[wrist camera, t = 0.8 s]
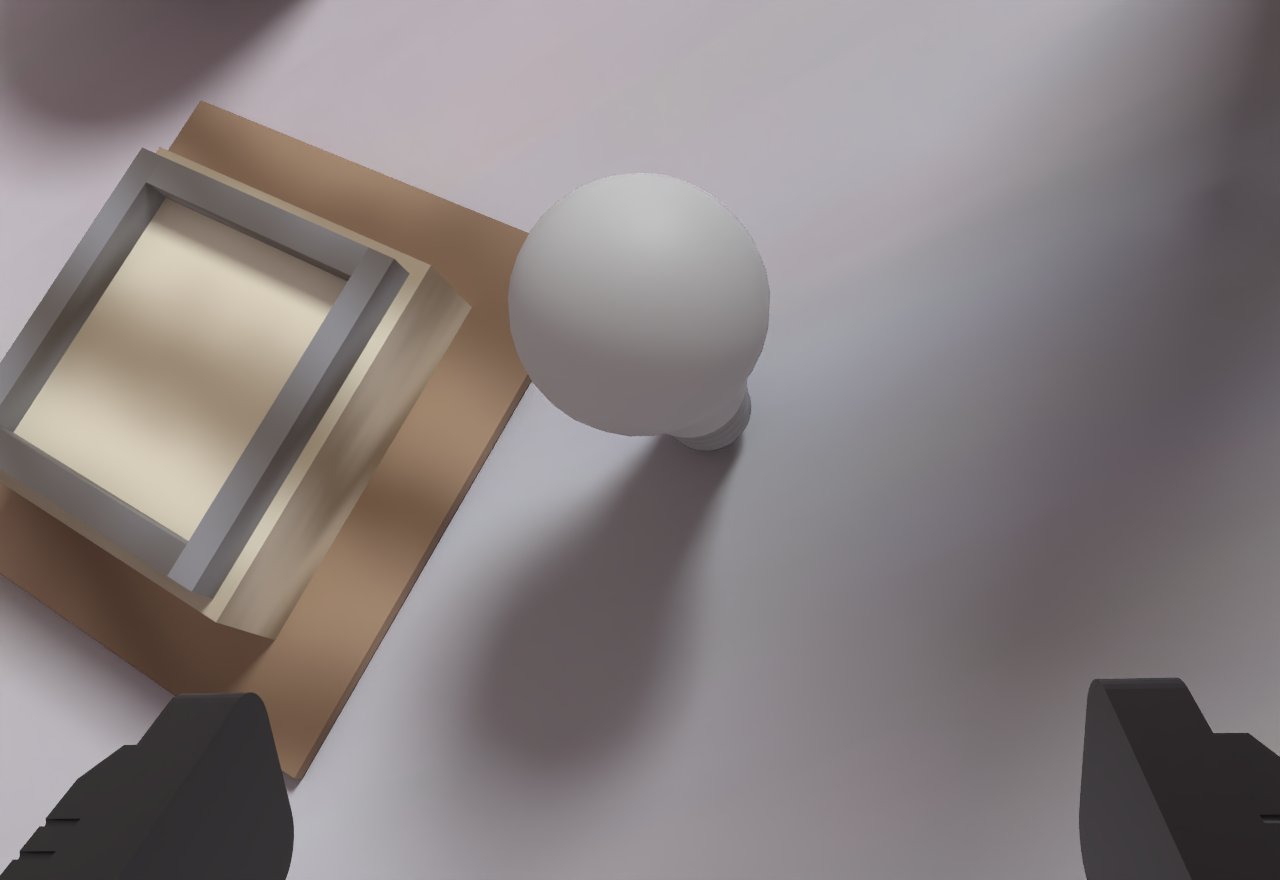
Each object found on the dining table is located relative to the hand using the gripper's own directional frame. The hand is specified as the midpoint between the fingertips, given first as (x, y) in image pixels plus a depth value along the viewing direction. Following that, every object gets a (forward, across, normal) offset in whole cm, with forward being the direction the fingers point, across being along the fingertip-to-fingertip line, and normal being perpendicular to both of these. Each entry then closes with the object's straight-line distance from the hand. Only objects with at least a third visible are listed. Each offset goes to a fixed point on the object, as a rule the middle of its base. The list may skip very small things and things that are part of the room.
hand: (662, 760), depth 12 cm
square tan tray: (+27, +16, +6) cm, 32 cm away
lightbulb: (+23, +1, +6) cm, 24 cm away
